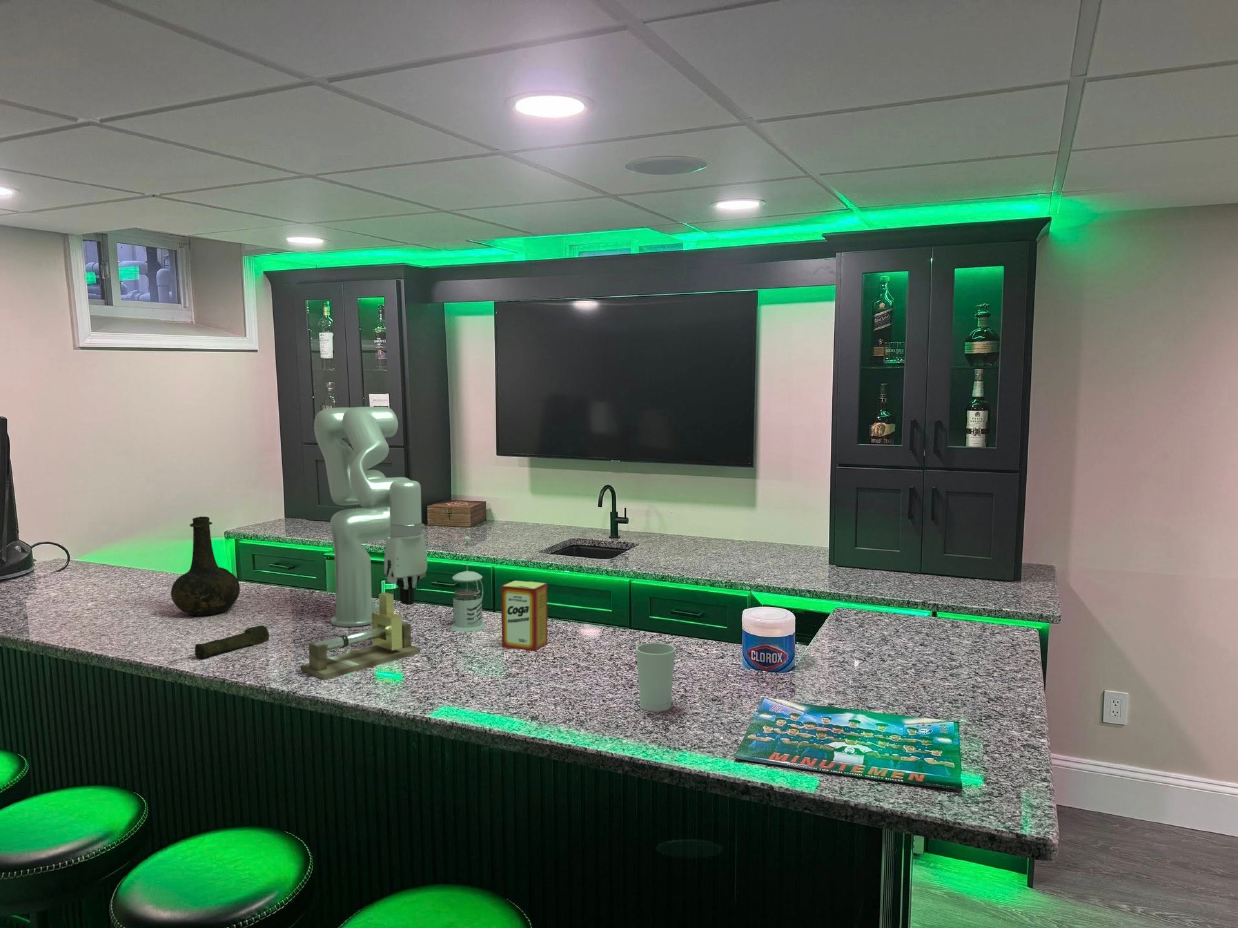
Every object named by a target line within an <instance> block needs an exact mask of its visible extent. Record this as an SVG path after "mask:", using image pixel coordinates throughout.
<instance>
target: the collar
mask: <svg viewBox="0 0 1238 928" xmlns="http://www.w3.org/2000/svg"><path fill="white" fill-rule="evenodd" d="M378 604H379V610H378V611H377V612H373V613H372V623H371V629H374V628H378V627H383V626H386V636H384V637H380V638H376V639H372V640H371V641H372V645H374V646H380V647H383V648H386V649H389V650H395V649H399V648H402V622H403V617H402V615H399V614H397V613H396V614H395V613H394V612H395V608H394V607H395V605H394V594H393V593H389V592H383V593H379V594H378Z"/></svg>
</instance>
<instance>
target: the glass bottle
mask: <svg viewBox="0 0 1238 928" xmlns="http://www.w3.org/2000/svg"><path fill="white" fill-rule="evenodd" d="M210 525H213V522H211V521H210V517H209V516H197V517H196V516H195V517H193V518H192V523H189V527H191V528H192V531H193V532H192V534H193V535H192V556H191V558H192V559H191V564H190V569H189V570H188V571H187V572H184V573H183V574H182V575H180V576H179V577H177V579H175V581H174V582H173V584H172V586H171V588H170V597H171V599H172V600H171V601H172V602H173V604H174V605H175V607H177V608H178V610H180V611H181V612H182V613H185V614H187V615H189V616H198V617H199V616H200V617H202V616H211V615H215V614H221V613H223V612H225V611H227V610H228V609H230V608H231V607H232V606H233V605H234V604H235V603H236V601H237V600H238V598H239V595H240V592H241V586H240V582H239V580H238V578H237V576H236V575H235V574H234V573H232V572H230V571H229V570H228V569H227V568H224V567H220V566H219V565H218V563H217V561H216V558H215V554H214V550H213V549H214V548H213V544H212V543H213V542H212V536H211V527H210Z"/></svg>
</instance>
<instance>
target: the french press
mask: <svg viewBox="0 0 1238 928" xmlns="http://www.w3.org/2000/svg"><path fill="white" fill-rule="evenodd" d="M470 541H471V537H470V536H467V535H466V536H464V537H463V542H466V545H465V546H466V552H468V542H470ZM468 567H469V566H468V563H466V570H465V571H462V572H458V573H456V574H454V575H453V576H452V577H451V578H452V580H453V581H454V582H459V583H466V588H461V589H457V590H455V591H454V595H455V596H453V597H452V598H453V600H452V602H453V603H452V604H453V605H452V607H453V611H452V612H453V623H451V625H450V626H449V629H450V630H452V631H454V632H455V631H456V632H463V633H464V632H475V631H480V630H484V629H485V628H486V627H487V625H486V624H485V623H484V622H483V612H482V611H483V608H482V606H483V603H482V601H483V597H484V585H483V582H482V579H483V576H482V575H481V574H479V572H476V571H469V570H468ZM474 582H475V583H474ZM479 582H480V584H481V589H482V590H480V589H479V585H478V584H479ZM468 583H472V585H476V588H469V585H468ZM481 593H482V595H480V594H481ZM475 608H476V609H475Z"/></svg>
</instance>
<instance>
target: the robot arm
mask: <svg viewBox="0 0 1238 928" xmlns="http://www.w3.org/2000/svg"><path fill="white" fill-rule="evenodd" d="M313 428H314V436H315V439H316V442H317V444H318V447H319V449H320V451H321V453H322V456H323V458H324V463H325V468H326V474H327V481H328V488H329V492H330V496H331V497H330V498H331V500H332V502H333V503H334V504H335V505H339V506H355V505H360V506H361V507H358V508H348V509H342V510H339V511H337V512H336V513H334V514H333V515H332V516H331V518H330V522H329V525H330V526H329V528H330V534H331V538H332V544H333V552H334V553H333V554H334V574H335V575H334V577H335V605H336V606H335V610H336V613H335V615H334V616H332V617H331V618H330V624H331V625H333V626H336V627H342V628H345V627H346V628H347V627H348V628H351V627H363V626H368V625H372V613H373V612H378V611H379V603H377V602H373V600H372V566H371V565H372V564H371V563H372V561H371V557H370V556H371V555H370V554H369V552H368V551H367V549H365V548H364V547H363V546H362V544H363V543H367V542H376V541H385V540H386V542H385V549H384V559H383V560H384V561H383V573H384V575H385V576H386V577H387V578H386V579H387V580H386V582H387V583H388V584H393V585H396V586H397V588H399V595H400V597H399V598H400V599H399V600H400V604H402V605H406V606H410V605H413V604H415V589H416V588H417V585H418V582H419V581H420V580H421V579H423V578H425V577H427V573H426V572H427V569H428V554H427V546H426V541H425V537H424V536H425V535H424V534H422V533H423V531H422V530H424V529H425V527H426V526H425V524H424V523H422V487H421V484H420V482H418V481H416V480H411V479H410V478H408V477H404V476H399V477H398V476H397V477H386V476H385V474H384V473H383V472H382V471H380V470H377V469H371V468H374V466H377V465H378V464H380V463H382V462H384V460H385V459H386V458H387V456H388V454H389V451H390V447H389V444H388V442H387V440H386V438H391V437H393V436H395V435H396V434H397V431H398V429H399V422H398V416H397V415H396V413H395V412H394V411H393V409H391V408H390V407H388V406H357V407H356V406H355V407H343V406H342V407H329V408H326V409H322V410H320V411H318V412H317V414H315V418H314V423H313ZM344 438H345V439H346V438H347V439H348V441H349V443H350V445H349V444H348V443H346V441H344V440H343V439H344Z"/></svg>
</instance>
